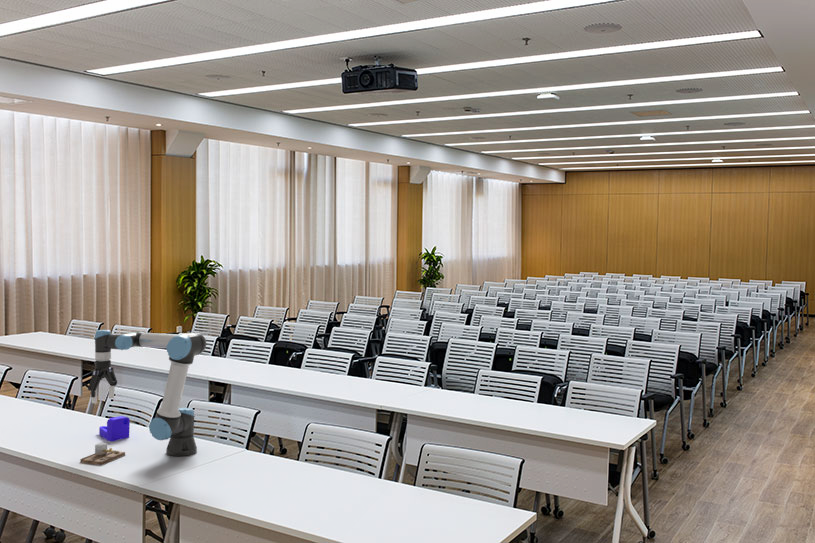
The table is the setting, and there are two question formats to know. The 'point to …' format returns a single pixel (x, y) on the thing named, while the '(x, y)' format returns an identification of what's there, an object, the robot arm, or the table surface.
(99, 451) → the slider with brass pointer
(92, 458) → the wooden knob panel
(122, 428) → the bracket
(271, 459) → the table surface
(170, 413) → the robot arm
